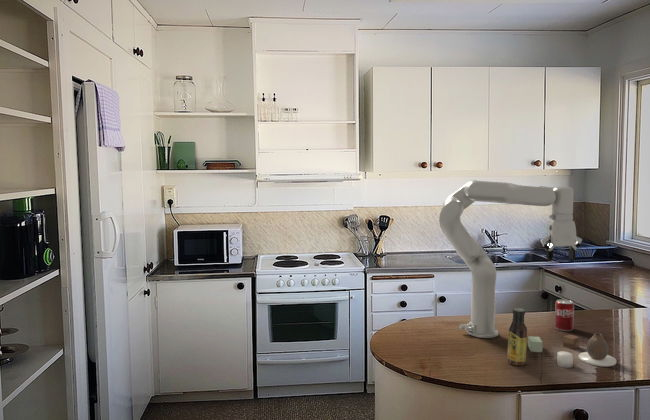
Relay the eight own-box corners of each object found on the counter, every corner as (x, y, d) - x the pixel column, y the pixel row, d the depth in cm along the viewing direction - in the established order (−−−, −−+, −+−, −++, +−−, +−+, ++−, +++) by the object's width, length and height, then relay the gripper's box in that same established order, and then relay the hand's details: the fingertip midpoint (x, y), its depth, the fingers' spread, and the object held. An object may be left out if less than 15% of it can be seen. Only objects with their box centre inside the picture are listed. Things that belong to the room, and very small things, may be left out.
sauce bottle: (504, 360, 184) (505, 306, 183) (520, 359, 185) (522, 306, 183) (512, 367, 178) (513, 311, 176) (529, 366, 178) (531, 311, 177)
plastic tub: (562, 368, 177) (563, 357, 176) (554, 362, 182) (554, 351, 181) (575, 367, 178) (576, 356, 177) (566, 361, 183) (567, 350, 182)
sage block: (531, 351, 193) (531, 341, 192) (527, 346, 199) (528, 336, 198) (542, 352, 192) (542, 342, 192) (538, 346, 198) (539, 336, 197)
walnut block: (572, 349, 195) (572, 339, 194) (563, 346, 198) (563, 336, 198) (578, 347, 196) (579, 337, 196) (569, 344, 200) (570, 334, 200)
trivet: (592, 367, 177) (593, 365, 177) (571, 354, 189) (571, 352, 189) (624, 365, 178) (624, 363, 178) (601, 352, 190) (601, 350, 190)
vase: (605, 355, 186) (606, 332, 185) (609, 362, 179) (610, 338, 178) (584, 353, 188) (585, 330, 187) (588, 360, 181) (588, 336, 181)
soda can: (575, 332, 214) (576, 304, 213) (556, 331, 215) (557, 303, 214) (570, 326, 221) (571, 299, 220) (552, 325, 223) (553, 298, 222)
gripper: (547, 219, 198) (546, 262, 199) (588, 218, 200) (586, 260, 202) (536, 217, 205) (535, 259, 207) (576, 216, 208) (574, 257, 209)
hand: (560, 259), depth 204 cm, fingers open, 9 cm apart
